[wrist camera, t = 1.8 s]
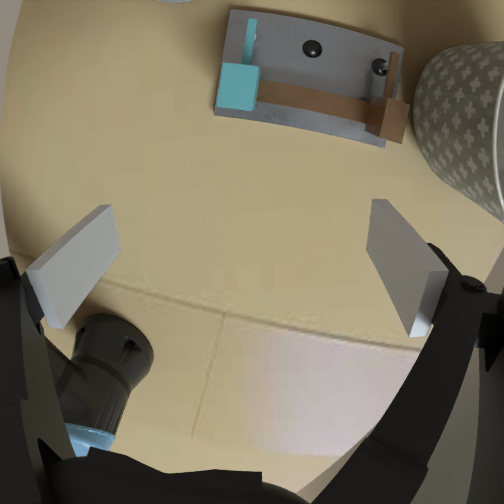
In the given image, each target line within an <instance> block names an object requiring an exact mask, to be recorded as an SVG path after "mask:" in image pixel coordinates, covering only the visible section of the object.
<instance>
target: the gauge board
mask: <svg viewBox="0 0 504 504" xmlns="http://www.w3.org/2000/svg"><path fill="white" fill-rule="evenodd" d="M249 19H257V21H258V22H257V27H256V37H257V39H256V40H255V41H254V45H253V51H252V57H251V63H250V65H251V66H258V67H259V68H260V71H261V73H260V79H259V86H258V92H257V98H256V104H255V109H254V110H253V111H246V110H239V109H231V108H222V107H217V100H218V93H219V86H220V79H221V73H222V66H223V62H225V63H234V64H241V62H242V56H243V50H244V44H245V38H246V33H247V27H248V21H249ZM403 51H404V47H401V46H398V45H396V44H393V43H390V42H387V41H384V40H381V39H378V38H375V37H372V36H369V35H366V34H362V33H359V32H355V31H352V30H348V29H345V28H341V27H337V26H333V25H329V24H325V23H320V22H316V21H311V20H306V19H301V18H296V17H290V16H284V15H278V14H271V13H264V12H256V11H247V10H236V9H231V10H230V15H229V21H228V27H227V32H226V38H225V44H224V50H223V56H222V63H221V69H220V75H219V82H218V89H217V96H216V103H215V110H214V115H215V116H224V117H232V118H240V119H247V120H254V121H260V122H267V123H273V124H279V125H284V126H290V127H295V128H300V129H306V130H310V131H315V132H320V133H325V134H329V135H334V136H338V137H342V138H347V139H351V140H355V141H359V142H363V143H367V144H370V145H374V146H378V147H381V148H385V144H386V140H390V141H393V142H396V143H400V144H402V140H403V136H404V132H405V127H406V123H407V118H408V114H409V109H410V105H409V104H406V103H403V102H400V101H397V100H395V97H396V92H397V87H398V81H399V76H400V70H401V64H402V58H403Z"/></svg>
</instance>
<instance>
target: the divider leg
mask: <svg viewBox="0 0 504 504" xmlns="http://www.w3.org/2000/svg"><path fill="white" fill-rule="evenodd" d="M257 22H258V21H257V19H249V21H248V27H247V33H246V38H245V44H244V50H243V56H242V62H241V64H234V63H225V62H223V66H222V73H221V79H220V86H219V93H218V100H217V107H222V108H231V109H239V110H246V111H253V110H254V109H255V104H256V98H257V92H258V86H259V79H260V73H261V71H260V68H259V67H258V66H251V65H250V63H251V57H252V51H253V45H254V41H255V40H256V39H257V37H256V27H257Z"/></svg>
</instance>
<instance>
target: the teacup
mask: <svg viewBox="0 0 504 504" xmlns="http://www.w3.org/2000/svg"><path fill="white" fill-rule="evenodd" d="M157 1H160V2H164V3H185V2H189V1H193V0H157Z"/></svg>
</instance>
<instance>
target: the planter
mask: <svg viewBox="0 0 504 504" xmlns="http://www.w3.org/2000/svg"><path fill="white" fill-rule="evenodd" d="M413 119H414V128H415V133H416V137H417V141H418V144H419V147H420V149H421V152H422V154H423V156H424V158H425V160H426V161H427V163H428V165H429V166H430V168H431V169H432V170H433V172H434V173H435V174H436V175H437V176H438V177H439V178H440V179H441V180H442V181H444V182H445V183H446V184H448V185H449V186H451V187H452V188H454V189H455V190H457V191H459V192H460V193H462V194H463V195H465V196H466V197H467V198H469V199H470V200H472V201H473V202H475V203H476V204H478V205H479V206H480V207H482V208H483V209H485V210H486V211H487V212H489V213H490V214H492V215H493V216H494V217H496V218H497V219H498V220H500V221H501V222H502V223H503V224H504V41H501V42H489V43H479V44H470V45H462V46H455V47H451V48H448V49H445V50H443V51H441V52H440V53H438V54H437V55H435V56H434V57H433V58H432V59H431V60H430V61H429V63H428V64H427V65H426V67H425V68H424V70H423V71H422V73H421V75H420V78H419V80H418V83H417V86H416V90H415V95H414V103H413Z"/></svg>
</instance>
